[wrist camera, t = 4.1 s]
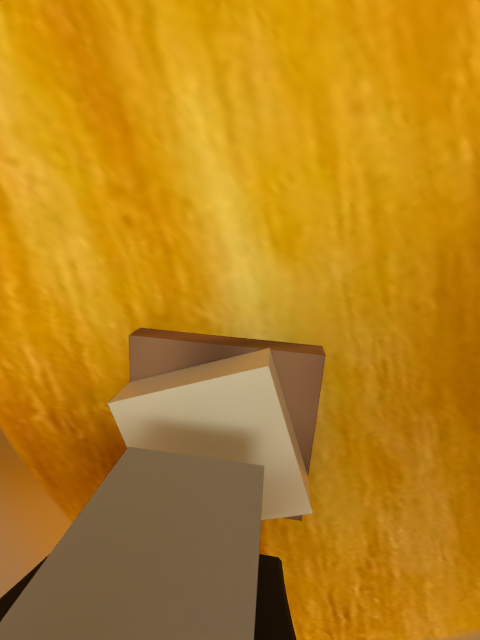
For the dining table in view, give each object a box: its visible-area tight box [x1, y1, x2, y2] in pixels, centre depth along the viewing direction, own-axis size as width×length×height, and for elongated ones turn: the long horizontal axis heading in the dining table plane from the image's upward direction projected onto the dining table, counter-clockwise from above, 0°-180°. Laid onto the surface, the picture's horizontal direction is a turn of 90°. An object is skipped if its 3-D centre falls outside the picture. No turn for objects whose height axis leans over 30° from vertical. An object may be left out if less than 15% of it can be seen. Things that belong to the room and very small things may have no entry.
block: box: [0, 447, 264, 640], centre depth 8 cm, size 4×4×6 cm
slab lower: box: [129, 328, 325, 521], centre depth 16 cm, size 9×9×2 cm
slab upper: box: [108, 348, 313, 521], centre depth 14 cm, size 7×7×2 cm
